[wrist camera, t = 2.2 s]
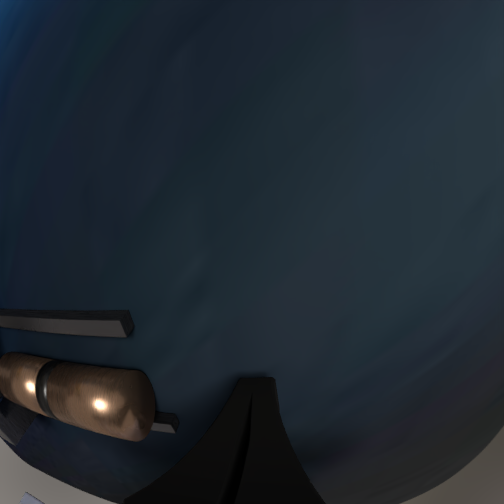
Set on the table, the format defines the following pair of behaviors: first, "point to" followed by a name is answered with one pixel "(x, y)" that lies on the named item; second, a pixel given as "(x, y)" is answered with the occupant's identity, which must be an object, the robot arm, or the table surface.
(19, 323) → the metal clamp tool
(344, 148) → the table surface
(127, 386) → the tube
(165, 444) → the table surface
